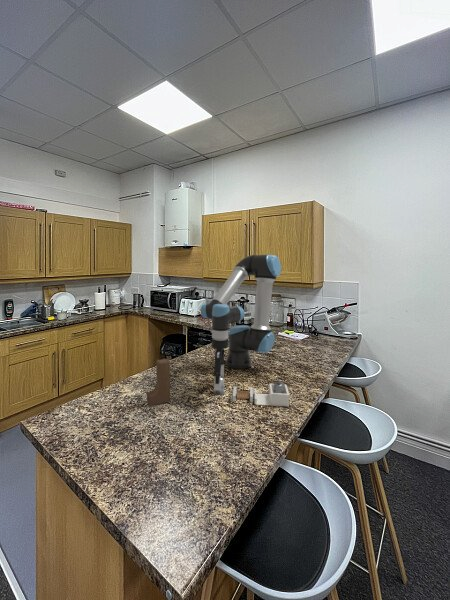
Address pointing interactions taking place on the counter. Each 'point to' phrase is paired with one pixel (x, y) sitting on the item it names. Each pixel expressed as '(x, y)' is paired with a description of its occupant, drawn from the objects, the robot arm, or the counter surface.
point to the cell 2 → (279, 387)
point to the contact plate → (243, 394)
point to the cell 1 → (221, 387)
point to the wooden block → (161, 384)
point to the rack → (272, 397)
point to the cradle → (250, 394)
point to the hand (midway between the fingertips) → (219, 383)
